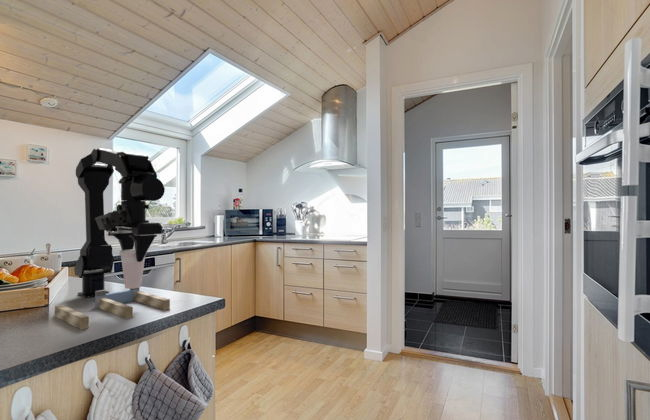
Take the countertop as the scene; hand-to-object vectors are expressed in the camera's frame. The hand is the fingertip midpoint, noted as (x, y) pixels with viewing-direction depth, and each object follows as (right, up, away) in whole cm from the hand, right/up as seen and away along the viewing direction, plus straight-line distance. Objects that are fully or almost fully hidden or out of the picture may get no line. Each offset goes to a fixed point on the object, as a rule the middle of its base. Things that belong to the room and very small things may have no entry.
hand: (133, 260), depth 96 cm
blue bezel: (-7, -13, +5) cm, 15 cm away
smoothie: (0, -7, 0) cm, 7 cm away
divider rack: (-3, -13, -4) cm, 13 cm away
